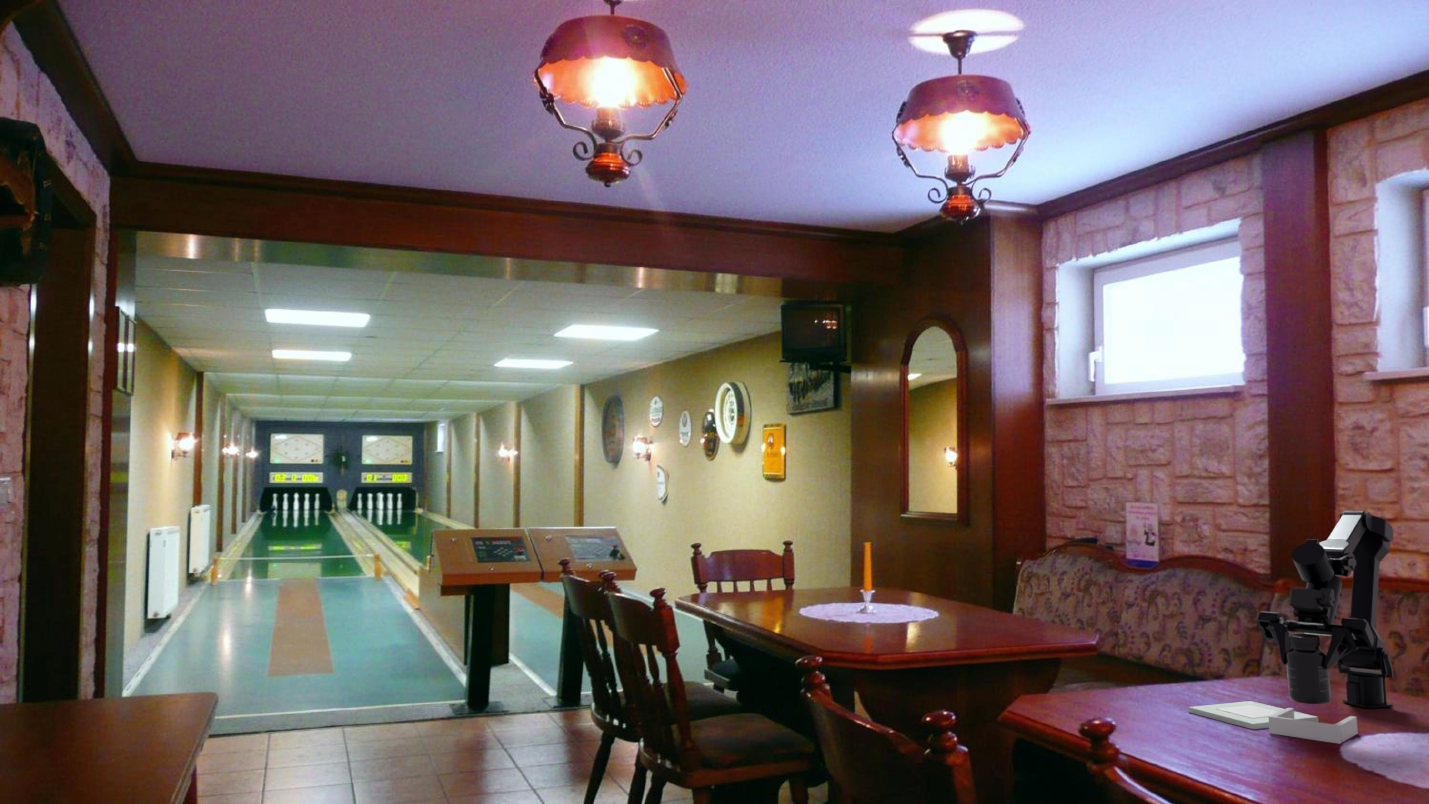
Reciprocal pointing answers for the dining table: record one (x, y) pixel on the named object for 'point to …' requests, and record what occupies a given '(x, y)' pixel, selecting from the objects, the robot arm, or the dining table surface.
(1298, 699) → the supplement bottle
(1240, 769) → the dining table surface
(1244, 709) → the docking plate
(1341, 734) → the holster
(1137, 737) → the dining table surface
